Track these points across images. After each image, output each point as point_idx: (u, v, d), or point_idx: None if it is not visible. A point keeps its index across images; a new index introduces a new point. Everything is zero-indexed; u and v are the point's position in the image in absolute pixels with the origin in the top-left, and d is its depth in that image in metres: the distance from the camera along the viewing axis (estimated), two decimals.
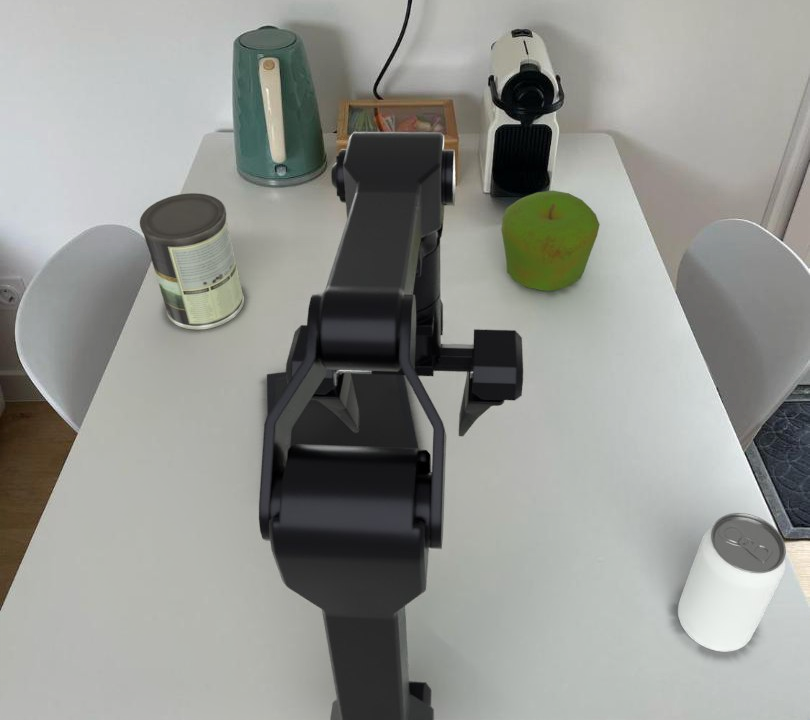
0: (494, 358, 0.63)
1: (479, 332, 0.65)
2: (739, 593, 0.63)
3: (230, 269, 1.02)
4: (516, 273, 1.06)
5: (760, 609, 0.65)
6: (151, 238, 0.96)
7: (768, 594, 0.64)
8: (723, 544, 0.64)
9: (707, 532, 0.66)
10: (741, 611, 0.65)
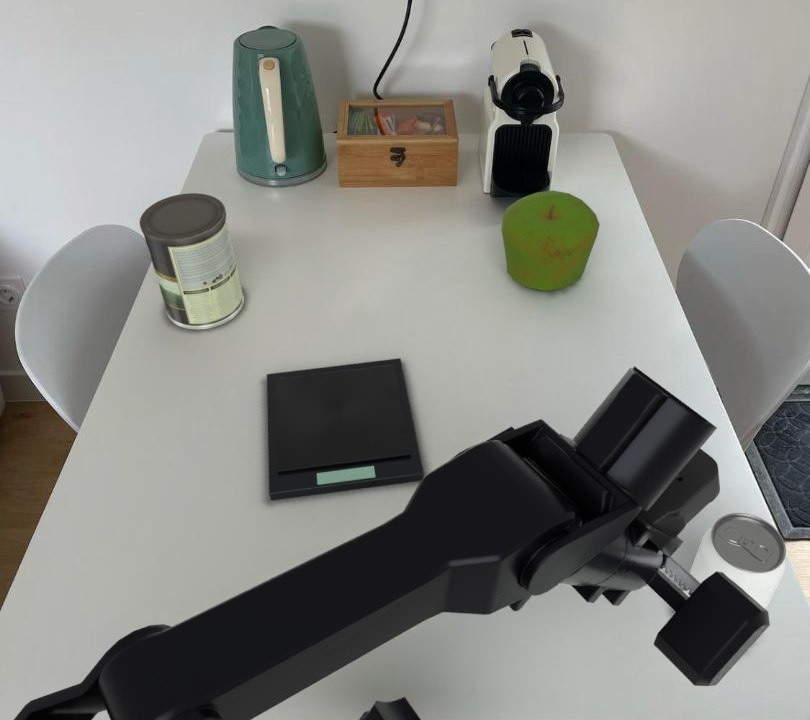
0: (687, 642, 0.49)
1: (705, 590, 0.50)
2: None
3: (230, 269, 1.02)
4: (516, 273, 1.06)
5: None
6: (151, 238, 0.96)
7: (768, 594, 0.64)
8: (723, 544, 0.64)
9: (707, 532, 0.66)
10: None
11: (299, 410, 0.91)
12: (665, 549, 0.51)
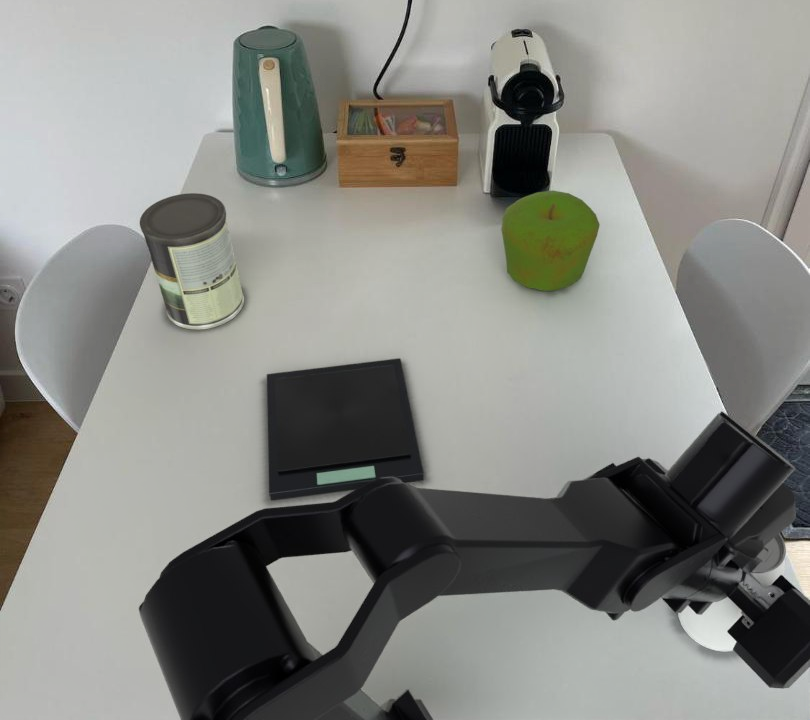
0: (764, 650, 0.56)
1: (781, 605, 0.57)
2: None
3: (230, 269, 1.02)
4: (516, 273, 1.06)
5: None
6: (151, 238, 0.96)
7: None
8: None
9: None
10: (741, 611, 0.65)
11: (299, 410, 0.91)
12: (745, 568, 0.57)
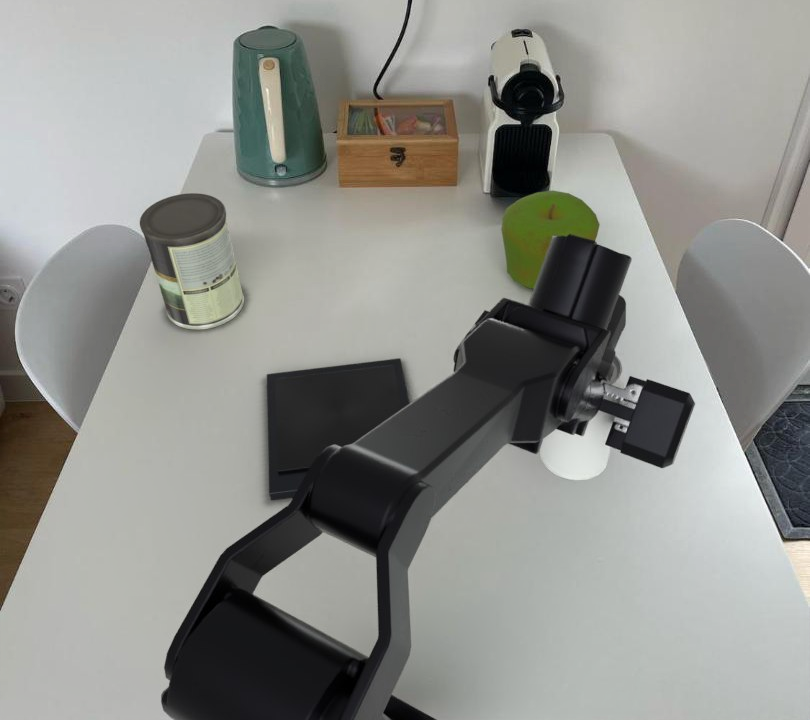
0: (647, 438, 0.62)
1: (646, 394, 0.62)
2: (598, 411, 0.69)
3: (230, 269, 1.02)
4: (516, 273, 1.06)
5: None
6: (151, 238, 0.96)
7: None
8: None
9: None
10: (602, 428, 0.71)
11: (299, 410, 0.91)
12: (608, 375, 0.62)
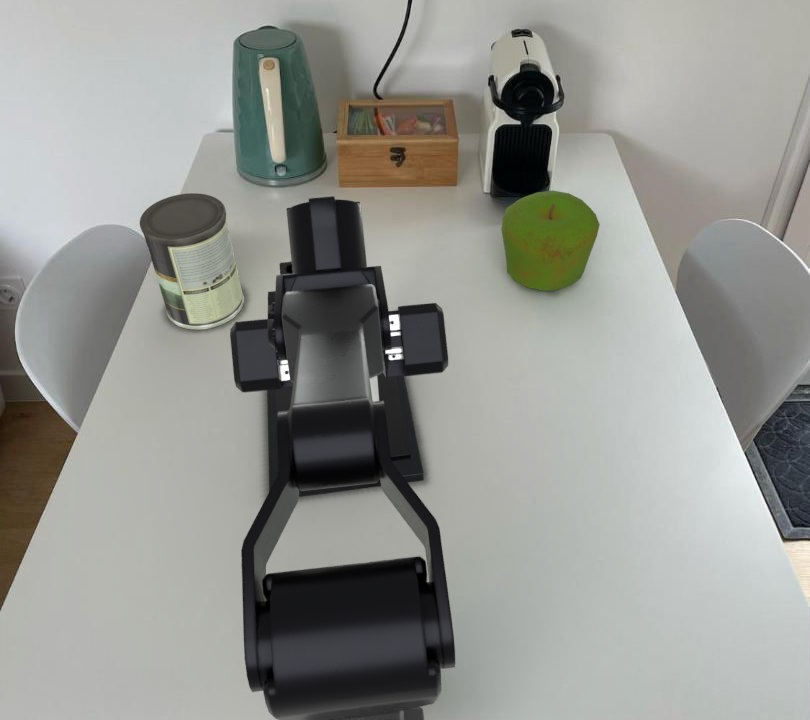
0: (422, 352, 0.70)
1: (405, 318, 0.70)
2: None
3: (230, 269, 1.02)
4: (516, 273, 1.06)
5: None
6: (151, 238, 0.96)
7: None
8: None
9: None
10: None
11: None
12: None
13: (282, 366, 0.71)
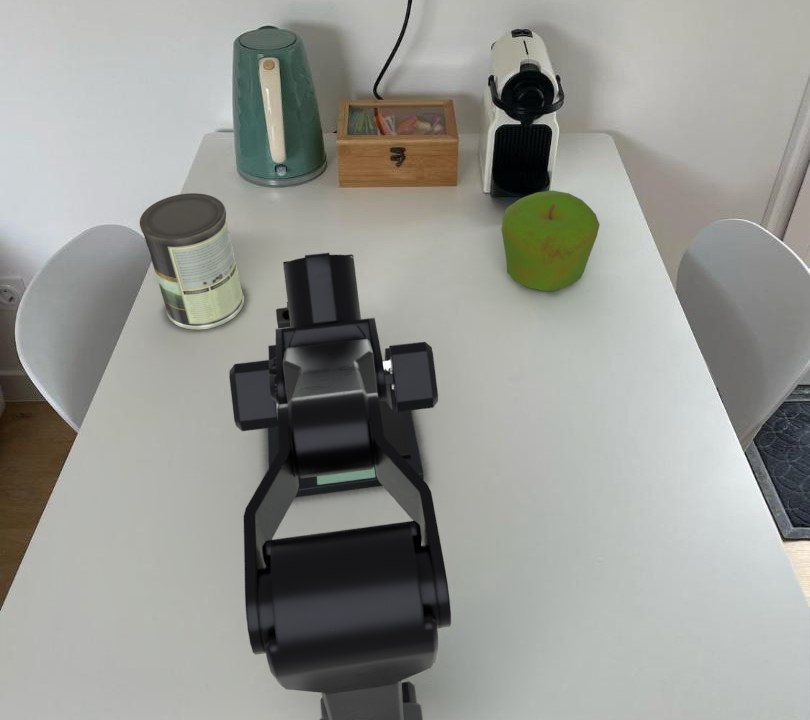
0: (413, 390, 0.74)
1: (396, 358, 0.74)
2: None
3: (230, 269, 1.02)
4: (516, 273, 1.06)
5: None
6: (151, 238, 0.96)
7: None
8: None
9: None
10: None
11: None
12: None
13: None
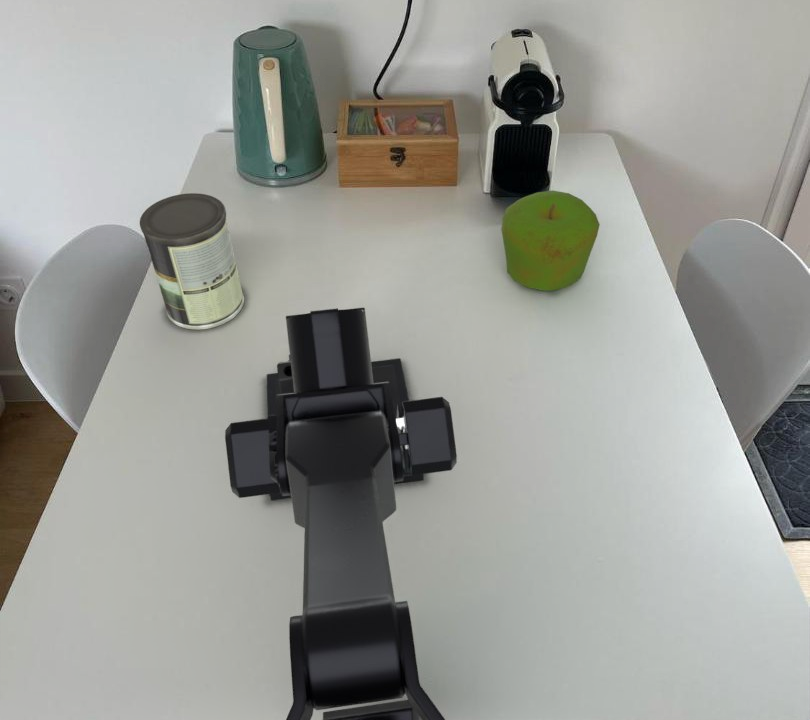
0: (429, 451, 0.67)
1: (411, 416, 0.67)
2: None
3: (230, 269, 1.02)
4: (516, 273, 1.06)
5: None
6: (151, 238, 0.96)
7: None
8: None
9: None
10: None
11: None
12: None
13: None
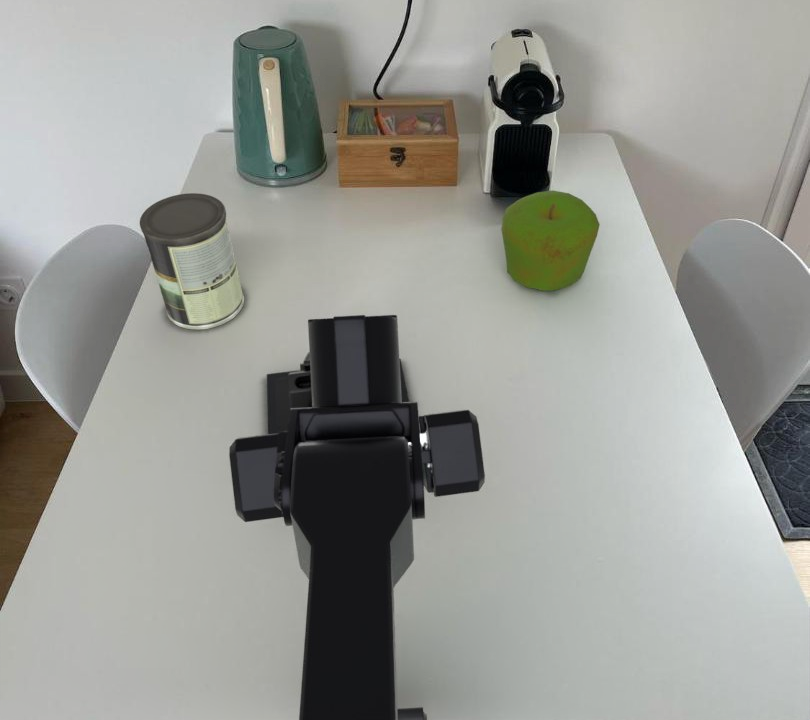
0: (455, 470, 0.60)
1: (434, 431, 0.60)
2: None
3: (230, 269, 1.02)
4: (516, 273, 1.06)
5: None
6: (151, 238, 0.96)
7: None
8: None
9: None
10: None
11: None
12: None
13: None
